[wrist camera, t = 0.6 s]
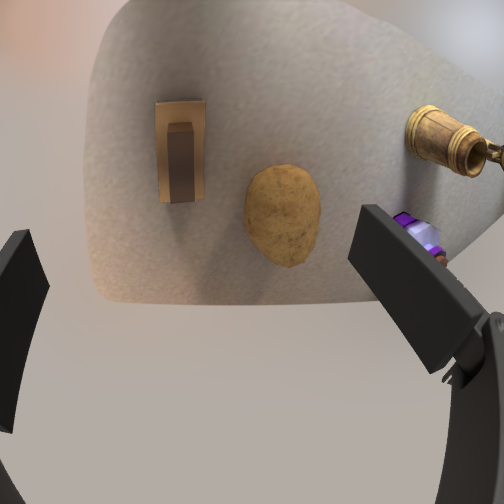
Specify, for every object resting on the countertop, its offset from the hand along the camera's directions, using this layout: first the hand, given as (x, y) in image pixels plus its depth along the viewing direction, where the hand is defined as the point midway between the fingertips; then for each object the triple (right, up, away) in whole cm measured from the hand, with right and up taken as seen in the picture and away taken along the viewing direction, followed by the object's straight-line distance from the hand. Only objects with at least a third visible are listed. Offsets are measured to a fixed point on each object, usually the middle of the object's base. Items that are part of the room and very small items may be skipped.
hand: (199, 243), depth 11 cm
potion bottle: (+28, +4, +37) cm, 47 cm away
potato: (+5, +7, +29) cm, 30 cm away
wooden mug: (+31, +19, +27) cm, 45 cm away
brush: (-6, +12, +21) cm, 25 cm away
